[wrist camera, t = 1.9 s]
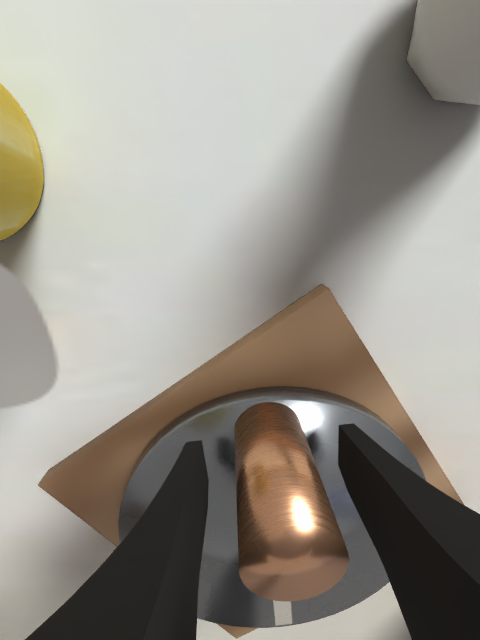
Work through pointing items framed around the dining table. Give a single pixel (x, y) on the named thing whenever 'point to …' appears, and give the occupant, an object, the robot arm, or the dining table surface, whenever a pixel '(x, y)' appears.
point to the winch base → (231, 376)
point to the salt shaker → (447, 49)
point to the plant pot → (17, 167)
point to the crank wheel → (273, 504)
